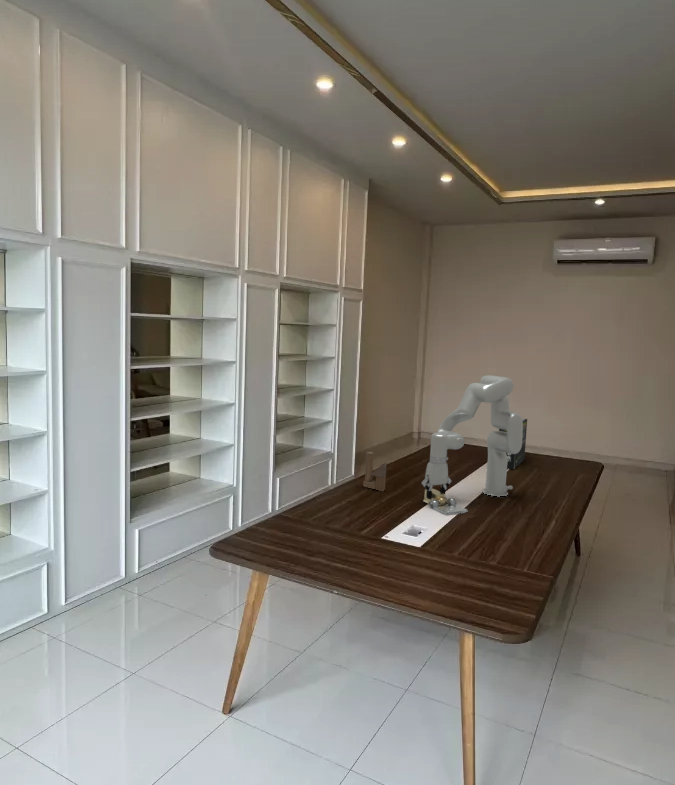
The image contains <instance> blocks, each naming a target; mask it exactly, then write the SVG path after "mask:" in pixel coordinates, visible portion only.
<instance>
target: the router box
mask: <svg viewBox="0 0 675 785" xmlns="http://www.w3.org/2000/svg"><path fill="white" fill-rule="evenodd" d="M522 421H523V436H522V447H521V450H520V451H519V452H518V453H516V454H510V453H506V455H507V459H508V463H507V470H511V469H515V468H516V467H517V466H520V464H522V462H524V460H525V458H526V457H525V456H526V444H527V443H526V442H527V441H526V440H527V430H528V429H527V426H528V418H522ZM498 431H502V432H507V430H502V429H498ZM515 470H516V469H515Z"/></svg>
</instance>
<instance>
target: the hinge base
mask: <svg viewBox="0 0 675 785" xmlns="http://www.w3.org/2000/svg"><path fill="white" fill-rule="evenodd" d="M447 501H448V503H447V506H440V507H439V502H438V500H431V501H430V504H428V505H429V507H430V509H432V510H434V511H437V513H440V514H441V515H444V516H451V515H460V513H461V514H467V513H466V512H468V513H469V510H468V509H467V508H464V507H462V506H460V505H458V504H457V500H456V498H455V497H451V498H447Z"/></svg>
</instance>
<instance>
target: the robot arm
mask: <svg viewBox="0 0 675 785" xmlns="http://www.w3.org/2000/svg"><path fill="white" fill-rule="evenodd" d="M513 390H514V382H513V380H512V379H511V378H509V377H504V376H499V375H498V376H497V375H490V374H488V375H483V376H481V378H480V382H472V383H470V384H469V385H468V386H467V388H466V390H465V392H464V394H463V396H462V398H461V400H460V402H459V404H458V406H457V408H456V409H455V410H453V412H451V413H449V415H447V416H446V417H445V418H444V419H443V420H442V421H441V423H440V425H439V427H438V429H437V431H436V432H433V433H432V434H431V438H430V454H429V461H428V463H427V464H426V468H425V475H424V479H423V480H422V481H421V485H422V486H423V487H424V488H425V490H427V493H426V496H427V498H428V499H430V500H431V499H432V491H431V489H433V487H434V486H440V488H439V491H440V492H442V493H444V494H445V495H446V490H447V489H448V487H449V485H450V484H451V483H452V479H451V478H450V477H449V466H448V463H447V461H448V460H449V457H448V450H459V449H462V448H463V447H464V444H465V440H466V439H465V438H464V436H463V435H462V434H460V433H458V432H455V431H452V430H453V429H454V428H455V427H456V426H457V425H458V424H461V423H463V422H466V421H469V420H471V419H473V418H474V417H475V415H476V413H477V411H478V408H479V406H480V405H481V403H486V404H487V403H488V404H490V425H491V427H493V428H495V429H498V430H493V431H491V432H490V433H489V434H487V438H486V444H487V465H486V477H485V478H486V479H485V488H482V490H481V492H483V493H484V494H483V493H482V494H483V495H485V494H487V495H486V496H488V495H491V496H490V497H493V496H497V497H496V498H501V497H500V496H506V497H508V496H509V492H508V490H510V491H511V490H513V488H514V487H513V485H507V471H508V469H507V463H508V459H507V455H506V453H510V454H516V453H518V452H519V451H520V450H521V447H522V436H523V421H522V419H523V418H522V416H521V415H520V413H518V412H515V411H511V410H510V403H509V402H510V401H509V396H508V395H510V394H511V393H512V391H513ZM499 429H502V430H507V432H502V431H499ZM507 495H508V496H507Z"/></svg>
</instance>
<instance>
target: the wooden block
mask: <svg viewBox="0 0 675 785" xmlns="http://www.w3.org/2000/svg"><path fill="white" fill-rule="evenodd" d="M374 453H375V452H373V451H366V456H365V473H364V480H363V482H362V484H363V485H362V487H363V486H364V487H368V488H372V489H376V490H379V491H378V492H380V491H382V492H384V490H386V477H387V476H386V475H387V464H388V463H387V462H384V463H381V464H380V465H379V467H377V468H376V469H375V470H374V455H375V454H374ZM373 470H374V471H373ZM373 477H375V480H373ZM372 489H371V490H372ZM376 490H375V491H376Z"/></svg>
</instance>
